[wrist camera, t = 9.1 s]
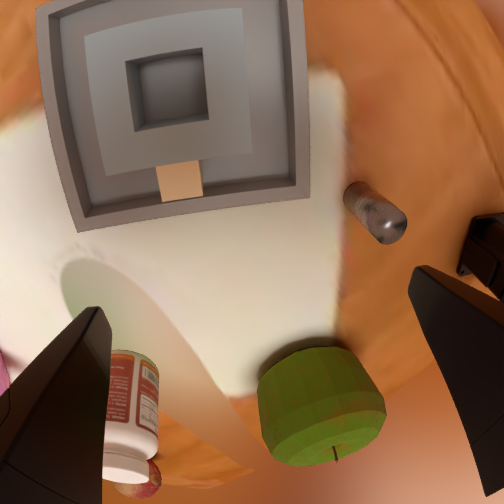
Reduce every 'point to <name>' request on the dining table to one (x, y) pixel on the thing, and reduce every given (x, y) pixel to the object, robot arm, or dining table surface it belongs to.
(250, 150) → the ring
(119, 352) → the pill bottle
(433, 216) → the dining table surface
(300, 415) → the apple
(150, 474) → the fruit
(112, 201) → the tray
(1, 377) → the teakettle
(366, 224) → the brown rounded cylinder
